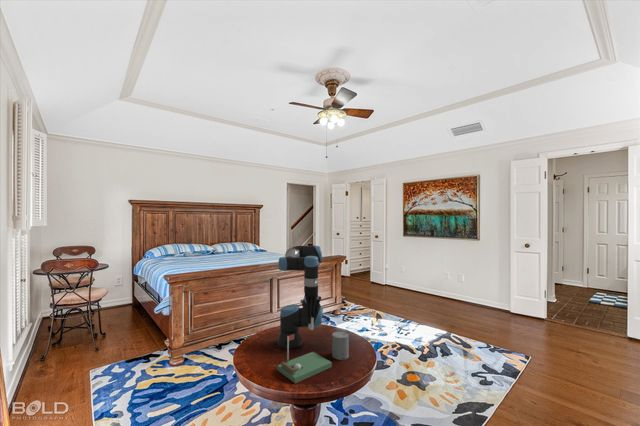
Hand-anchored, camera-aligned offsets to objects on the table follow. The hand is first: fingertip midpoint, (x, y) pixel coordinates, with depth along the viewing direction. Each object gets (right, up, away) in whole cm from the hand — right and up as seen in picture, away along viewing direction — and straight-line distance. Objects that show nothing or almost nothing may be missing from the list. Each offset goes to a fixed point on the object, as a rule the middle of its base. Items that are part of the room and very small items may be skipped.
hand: (310, 329), depth 164 cm
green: (-3, -20, -3) cm, 20 cm away
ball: (-7, -18, -6) cm, 20 cm away
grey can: (+17, -20, +12) cm, 29 cm away
